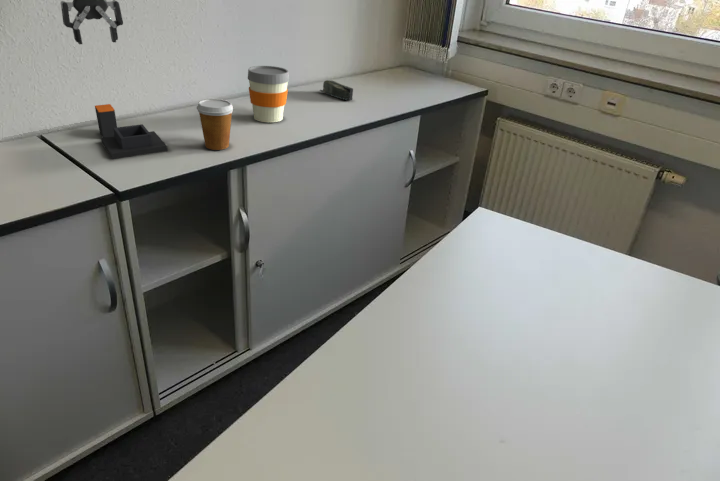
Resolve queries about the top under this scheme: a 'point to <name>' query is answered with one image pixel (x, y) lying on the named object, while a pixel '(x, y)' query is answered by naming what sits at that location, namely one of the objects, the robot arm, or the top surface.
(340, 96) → the dark grey block piece
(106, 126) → the pad block
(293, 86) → the top surface
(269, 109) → the reusable coffee cup
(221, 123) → the disposable coffee cup
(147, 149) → the base pad
